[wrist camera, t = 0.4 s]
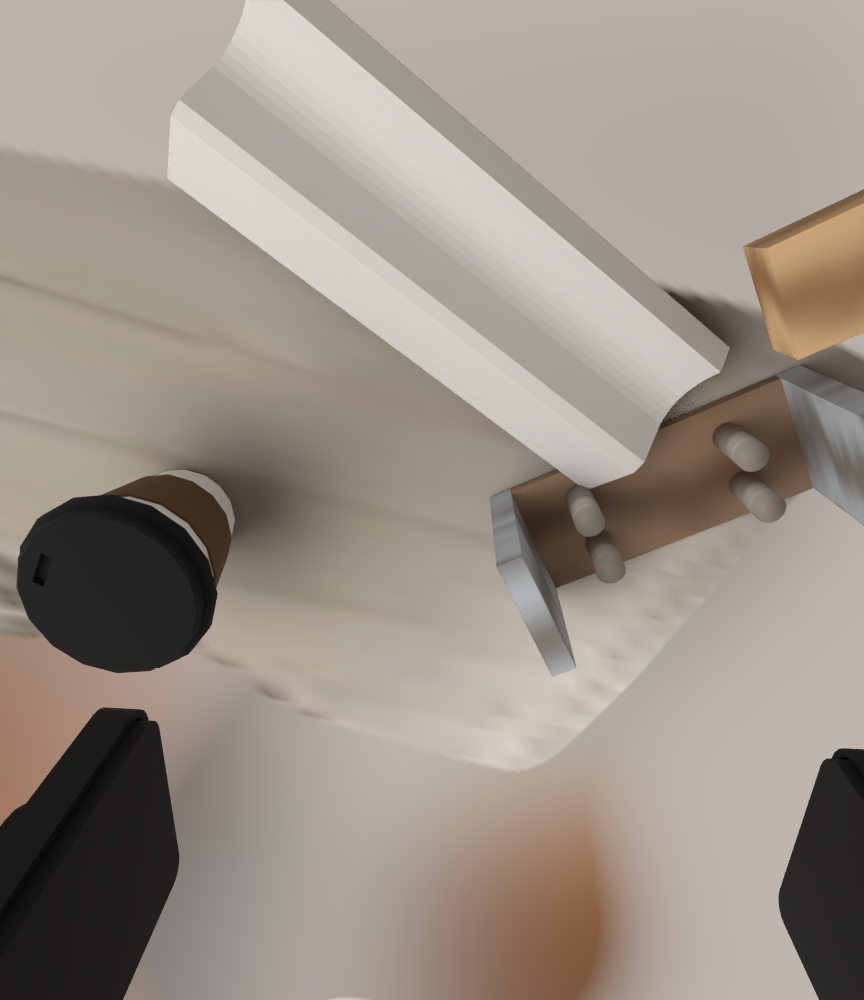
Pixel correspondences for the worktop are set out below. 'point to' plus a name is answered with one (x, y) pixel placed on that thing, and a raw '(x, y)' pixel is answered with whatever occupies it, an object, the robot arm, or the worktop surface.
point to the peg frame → (679, 491)
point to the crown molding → (435, 239)
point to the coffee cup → (128, 571)
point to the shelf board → (812, 278)
